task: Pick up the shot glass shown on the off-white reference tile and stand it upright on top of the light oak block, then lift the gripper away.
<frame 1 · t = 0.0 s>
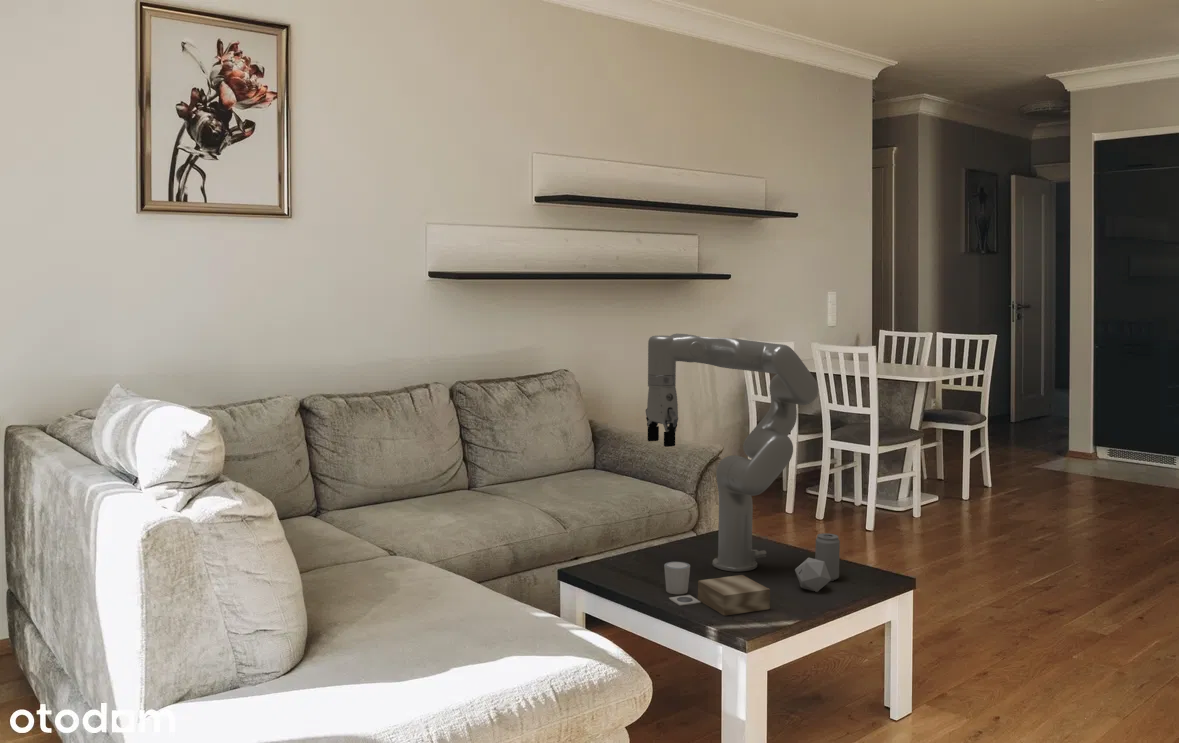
hand: (661, 443, 266), 37 cm above the table, tool pointing down, fingers open, 9 cm apart
die: (812, 589, 257), on the table
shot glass: (676, 591, 255), on the table
reference tile: (684, 600, 247), on the table
beverage can: (826, 579, 266), on the table
oak block: (733, 604, 245), on the table
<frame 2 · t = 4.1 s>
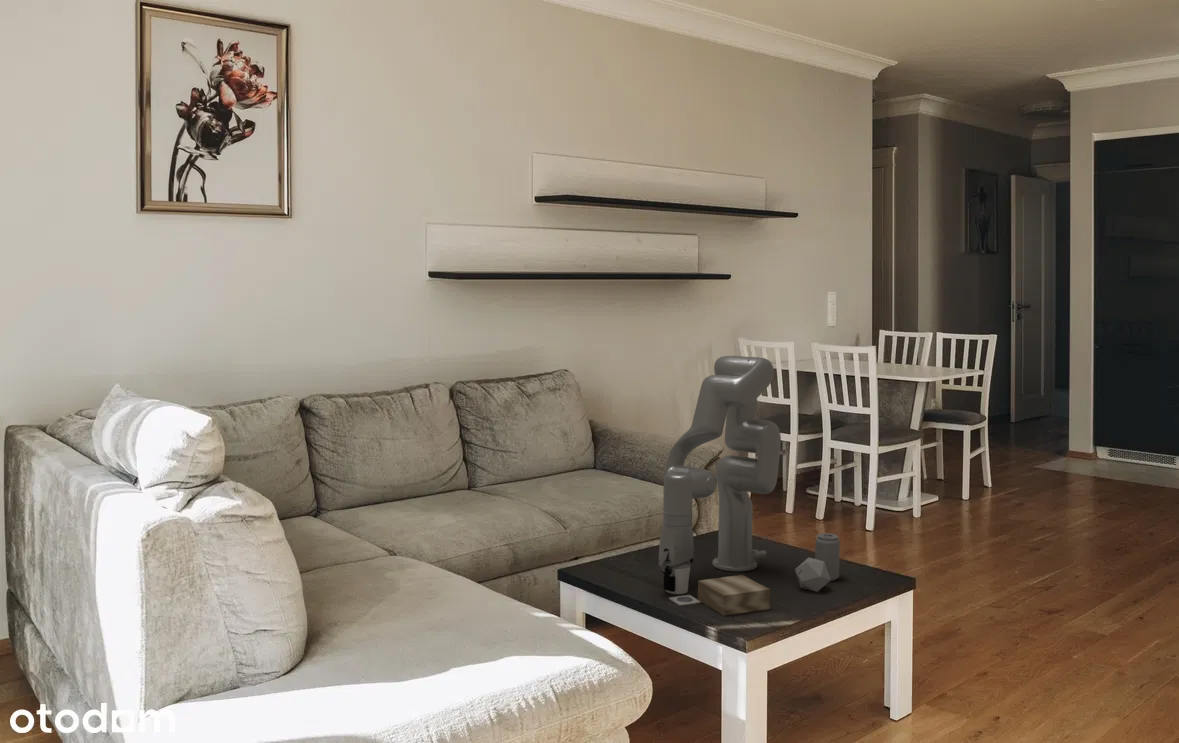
hand: (676, 586, 255), 1 cm above the table, tool pointing down, fingers closed on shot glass, 6 cm apart
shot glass: (676, 591, 255), on the table, touching gripper
everything else where it was.
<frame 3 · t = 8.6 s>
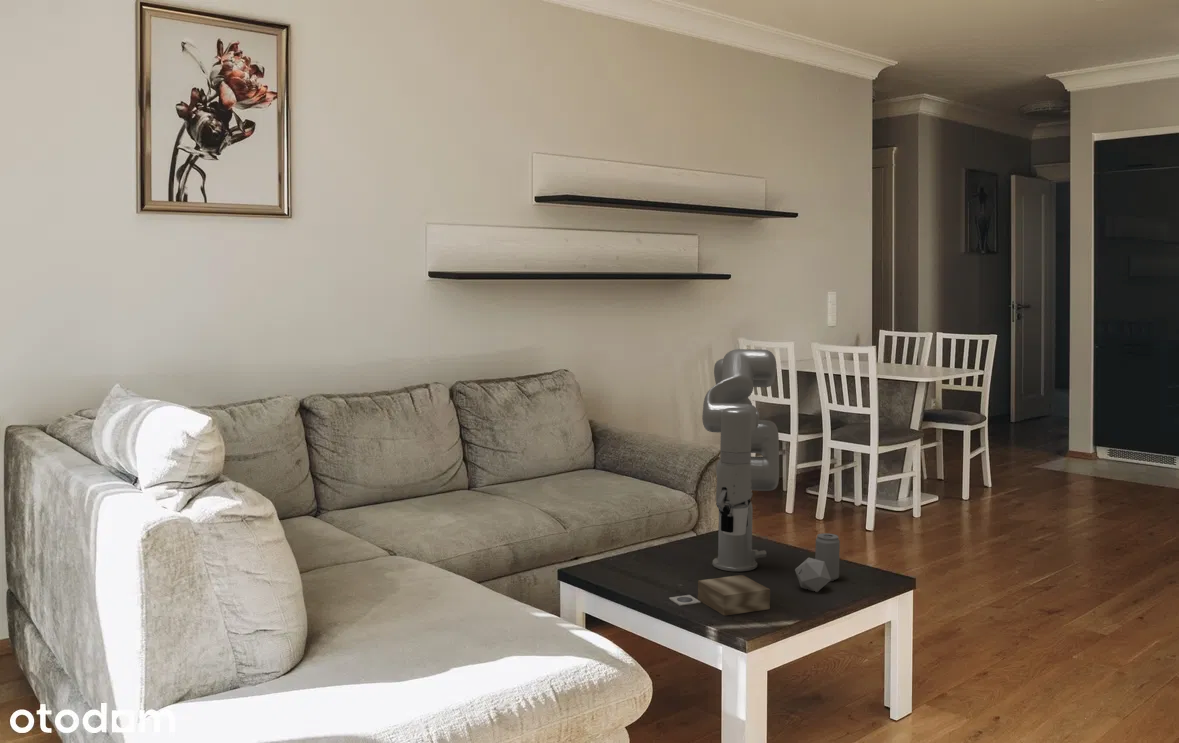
hand: (734, 528, 243), 19 cm above the table, tool pointing down, fingers closed on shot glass, 6 cm apart
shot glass: (734, 533, 243), point 18 cm above the table, touching gripper
everything else where it was.
when the fingers open (7 cm above the table, at t = 13.2 s): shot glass drops 1 cm, resting on oak block.
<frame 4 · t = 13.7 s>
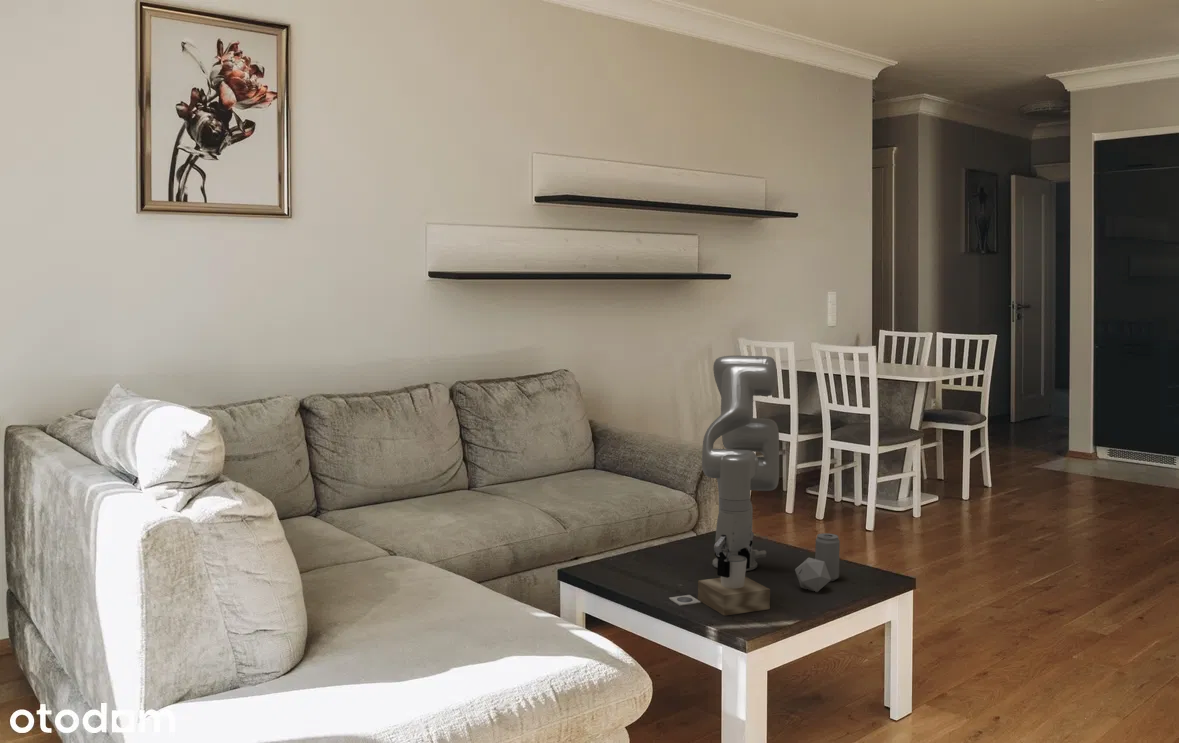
hand: (733, 571, 244), 8 cm above the table, tool pointing down, fingers open, 9 cm apart
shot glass: (732, 585, 244), point 5 cm above the table, touching oak block
everything else where it was.
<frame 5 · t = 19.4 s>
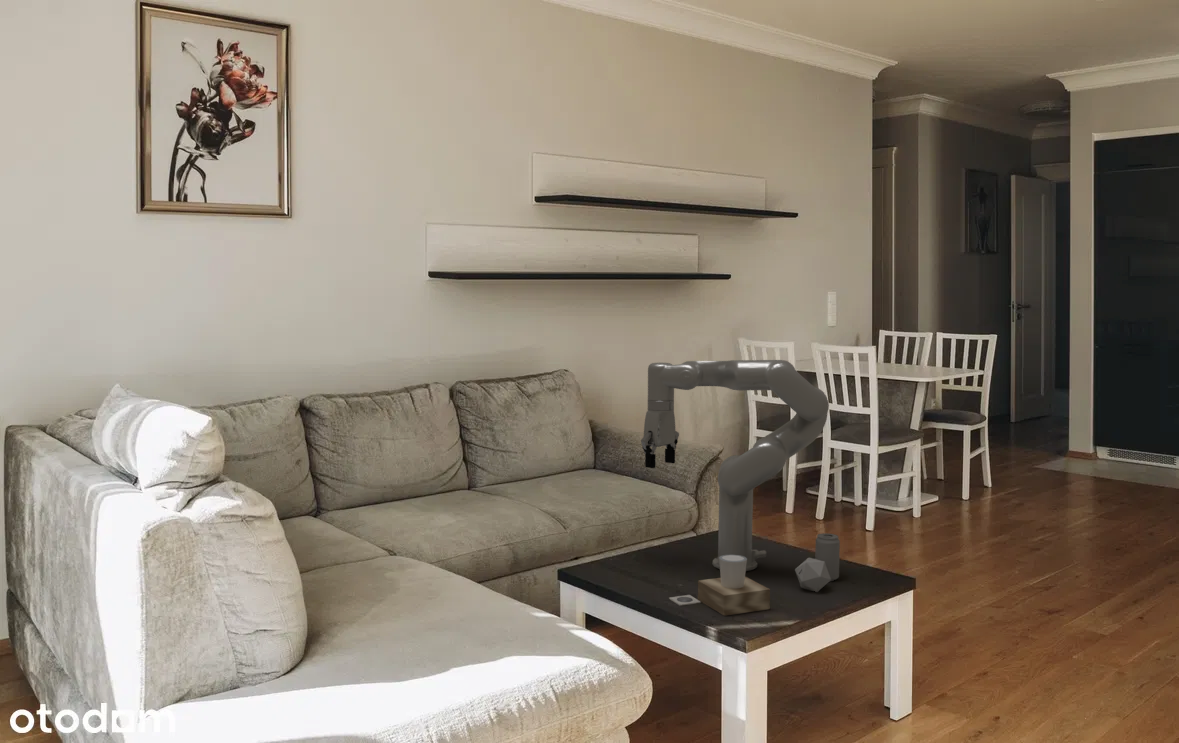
hand: (660, 465, 280), 28 cm above the table, tool pointing down, fingers open, 9 cm apart
nothing on the table moved.
at the end: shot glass inside the target area on the oak block (0.3 cm from its centre), point 4.8 cm above the oak block's base; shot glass tilted 0°; the gripper is holding nothing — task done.
